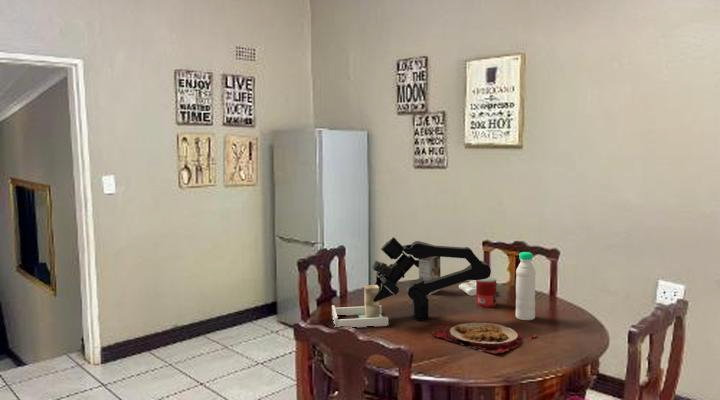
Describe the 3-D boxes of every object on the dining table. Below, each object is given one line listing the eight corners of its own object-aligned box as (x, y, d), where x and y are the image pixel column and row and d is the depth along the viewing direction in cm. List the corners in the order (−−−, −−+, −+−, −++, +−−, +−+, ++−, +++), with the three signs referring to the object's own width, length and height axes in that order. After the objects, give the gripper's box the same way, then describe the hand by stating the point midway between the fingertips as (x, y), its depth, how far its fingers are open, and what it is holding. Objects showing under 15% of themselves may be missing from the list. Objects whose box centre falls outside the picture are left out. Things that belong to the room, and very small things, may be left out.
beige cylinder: (377, 316, 205) (377, 284, 204) (379, 320, 200) (379, 287, 199) (364, 317, 205) (364, 285, 203) (366, 321, 200) (365, 288, 198)
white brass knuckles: (456, 288, 248) (485, 286, 251) (470, 298, 230) (502, 296, 233) (456, 281, 248) (485, 279, 250) (470, 291, 230) (502, 289, 233)
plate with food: (499, 359, 164) (499, 348, 164) (430, 337, 183) (431, 327, 182) (537, 340, 181) (538, 329, 181) (471, 321, 200) (471, 312, 200)
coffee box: (428, 288, 247) (428, 254, 246) (441, 290, 243) (440, 255, 242) (418, 292, 240) (418, 257, 239) (431, 294, 236) (430, 259, 235)
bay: (381, 312, 211) (381, 302, 211) (388, 325, 195) (388, 315, 195) (332, 315, 208) (331, 305, 208) (335, 328, 193) (335, 317, 192)
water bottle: (536, 321, 197) (537, 254, 195) (516, 320, 199) (516, 254, 196) (533, 315, 204) (534, 251, 202) (514, 314, 206) (515, 250, 203)
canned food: (498, 307, 216) (498, 280, 215) (478, 307, 216) (478, 280, 215) (493, 302, 223) (493, 276, 222) (474, 302, 223) (474, 276, 222)
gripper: (381, 249, 210) (353, 278, 210) (389, 258, 192) (359, 290, 191) (401, 268, 212) (374, 296, 211) (411, 279, 193) (381, 310, 193)
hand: (371, 297), depth 202 cm, fingers open, 9 cm apart
